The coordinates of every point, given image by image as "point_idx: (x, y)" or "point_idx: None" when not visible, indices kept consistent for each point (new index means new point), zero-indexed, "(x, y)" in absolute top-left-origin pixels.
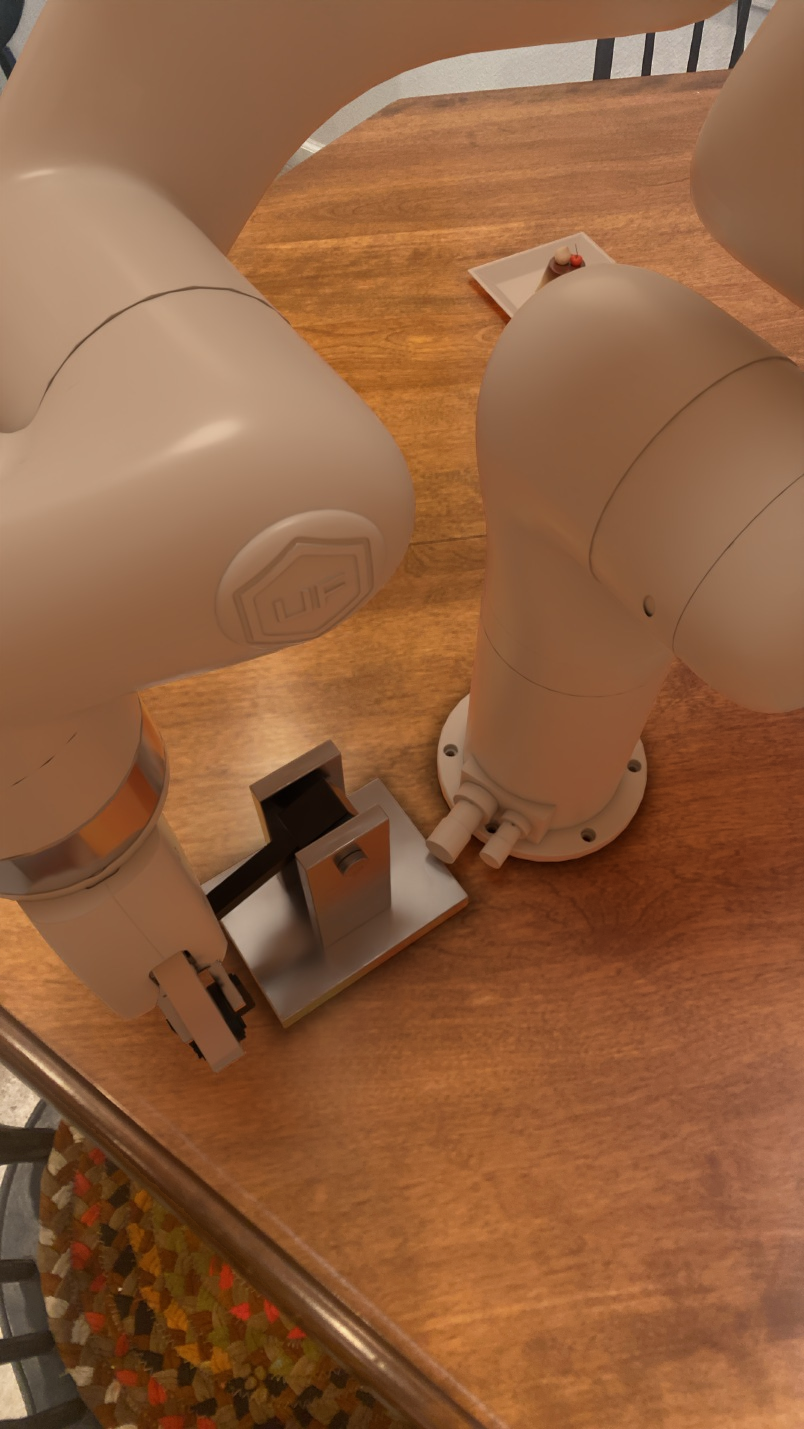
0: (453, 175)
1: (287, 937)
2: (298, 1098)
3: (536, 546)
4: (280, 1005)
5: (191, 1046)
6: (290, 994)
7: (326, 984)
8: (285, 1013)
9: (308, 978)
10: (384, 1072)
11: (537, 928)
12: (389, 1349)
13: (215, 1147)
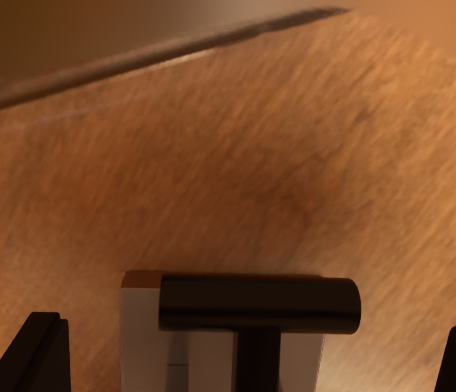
0: None
1: (206, 341)
2: (46, 242)
3: None
4: (139, 296)
5: (27, 318)
6: (144, 311)
7: (128, 348)
8: (127, 296)
9: (147, 335)
10: (19, 326)
11: None
12: None
13: (49, 136)
